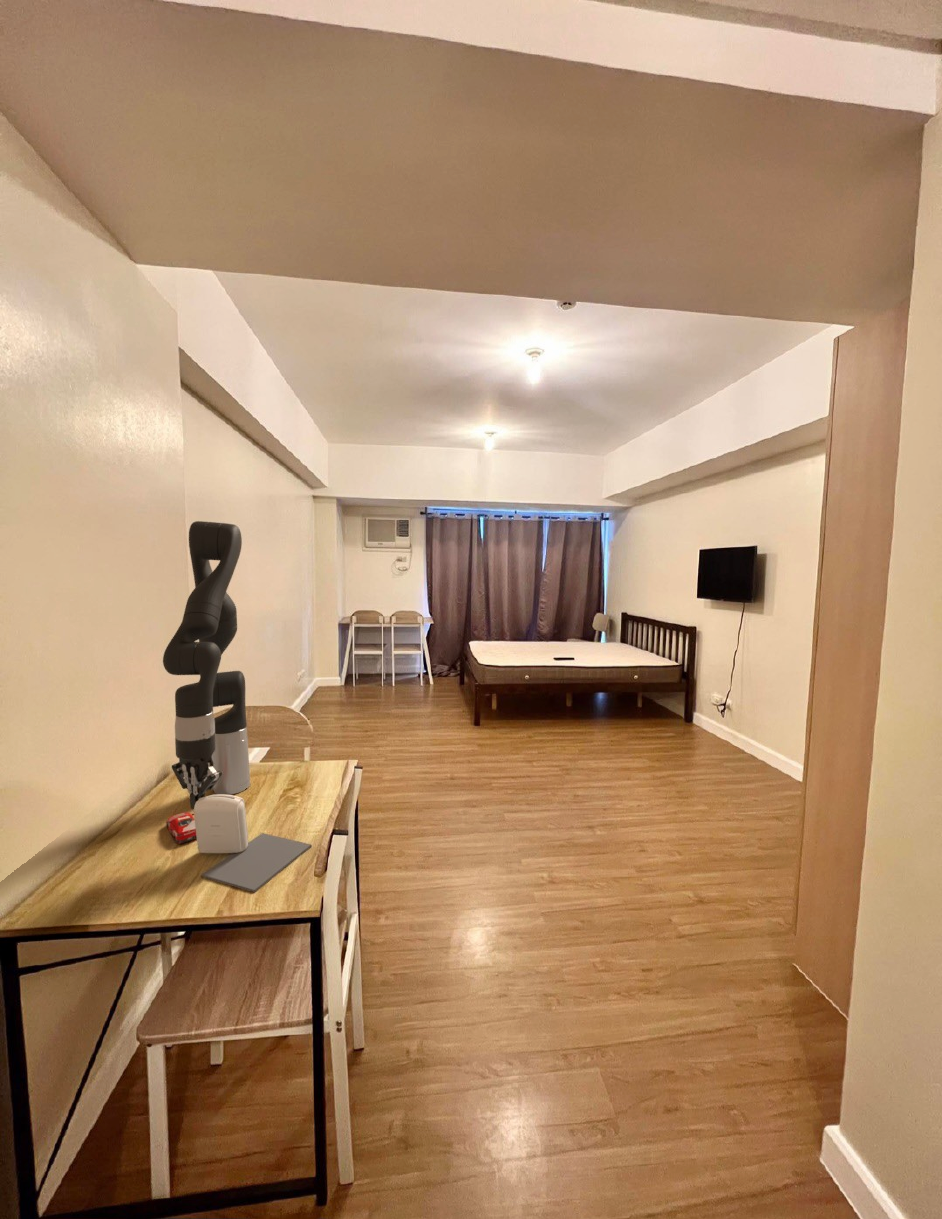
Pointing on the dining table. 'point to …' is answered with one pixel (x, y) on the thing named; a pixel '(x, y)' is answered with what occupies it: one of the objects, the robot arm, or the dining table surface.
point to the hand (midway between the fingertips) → (197, 808)
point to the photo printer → (221, 824)
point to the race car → (182, 827)
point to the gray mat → (257, 862)
